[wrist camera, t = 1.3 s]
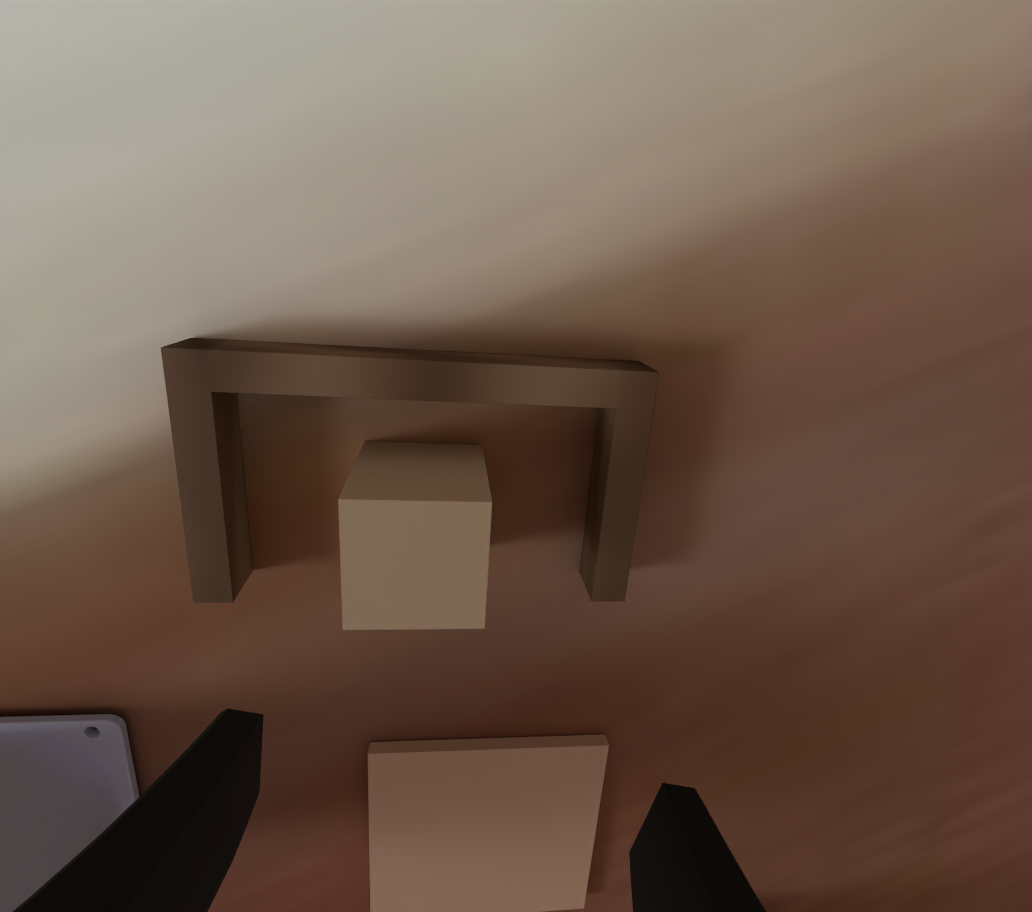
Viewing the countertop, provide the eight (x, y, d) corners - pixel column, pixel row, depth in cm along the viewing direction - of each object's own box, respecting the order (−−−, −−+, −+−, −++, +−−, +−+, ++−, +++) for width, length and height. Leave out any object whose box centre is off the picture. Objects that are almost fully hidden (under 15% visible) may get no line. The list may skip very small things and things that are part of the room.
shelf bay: (217, 570, 20) (193, 602, 19) (191, 337, 18) (161, 347, 16) (609, 572, 22) (624, 601, 20) (638, 361, 20) (658, 372, 18)
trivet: (372, 909, 27) (370, 923, 26) (369, 742, 24) (367, 753, 23) (581, 895, 28) (583, 908, 28) (605, 734, 25) (609, 745, 24)
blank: (366, 545, 21) (342, 629, 16) (365, 441, 20) (338, 499, 15) (476, 546, 21) (484, 628, 17) (482, 444, 20) (492, 501, 15)
